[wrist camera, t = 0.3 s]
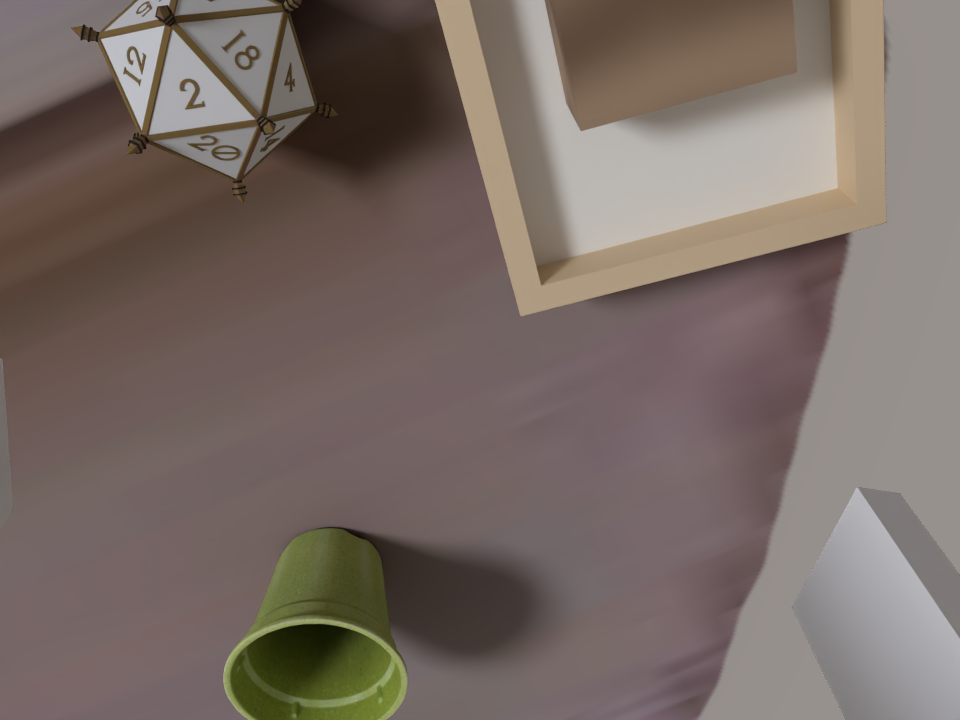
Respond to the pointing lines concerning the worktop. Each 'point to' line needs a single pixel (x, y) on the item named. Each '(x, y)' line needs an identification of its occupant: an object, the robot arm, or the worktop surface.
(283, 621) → the plant pot
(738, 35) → the walnut block
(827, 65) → the deck
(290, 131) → the game die
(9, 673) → the worktop surface
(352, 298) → the worktop surface
